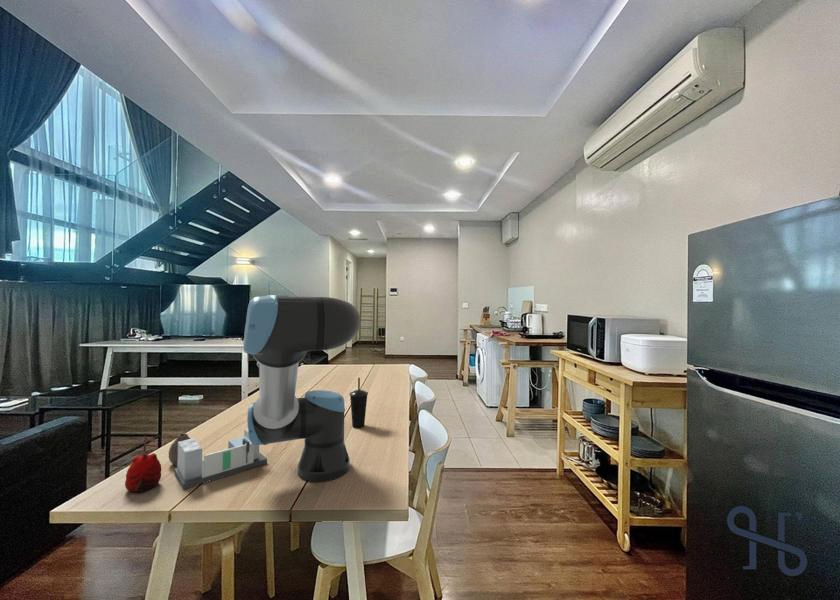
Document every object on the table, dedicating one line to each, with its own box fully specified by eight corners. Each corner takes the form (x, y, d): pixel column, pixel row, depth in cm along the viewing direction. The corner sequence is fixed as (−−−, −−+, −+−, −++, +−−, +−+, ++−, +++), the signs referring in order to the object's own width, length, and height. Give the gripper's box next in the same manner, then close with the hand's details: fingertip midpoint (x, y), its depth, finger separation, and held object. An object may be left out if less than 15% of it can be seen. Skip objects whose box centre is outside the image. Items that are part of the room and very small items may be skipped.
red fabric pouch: (161, 478, 97) (162, 425, 97) (160, 489, 91) (162, 433, 91) (126, 486, 92) (127, 431, 92) (123, 498, 86) (124, 439, 87)
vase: (190, 466, 104) (191, 437, 104) (164, 469, 102) (164, 440, 102) (198, 456, 111) (198, 429, 111) (173, 459, 109) (174, 432, 109)
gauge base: (267, 463, 106) (267, 439, 106) (183, 489, 91) (183, 461, 91) (253, 451, 115) (253, 429, 115) (174, 473, 99) (175, 448, 99)
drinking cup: (370, 427, 139) (371, 378, 140) (353, 430, 135) (354, 380, 135) (363, 421, 146) (363, 375, 146) (346, 425, 141) (346, 377, 142)
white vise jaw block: (201, 476, 95) (202, 448, 95) (184, 482, 92) (185, 452, 92) (193, 464, 102) (194, 438, 102) (177, 469, 99) (177, 441, 99)
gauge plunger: (262, 460, 104) (262, 437, 104) (238, 467, 100) (239, 443, 100) (249, 449, 112) (249, 428, 113) (227, 455, 108) (227, 433, 108)
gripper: (291, 338, 122) (290, 403, 122) (253, 340, 113) (251, 411, 113) (300, 339, 117) (299, 408, 117) (261, 342, 108) (260, 416, 107)
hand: (276, 409), depth 115 cm, fingers closed
